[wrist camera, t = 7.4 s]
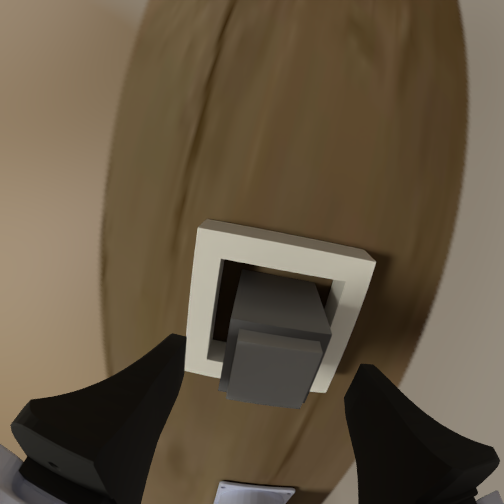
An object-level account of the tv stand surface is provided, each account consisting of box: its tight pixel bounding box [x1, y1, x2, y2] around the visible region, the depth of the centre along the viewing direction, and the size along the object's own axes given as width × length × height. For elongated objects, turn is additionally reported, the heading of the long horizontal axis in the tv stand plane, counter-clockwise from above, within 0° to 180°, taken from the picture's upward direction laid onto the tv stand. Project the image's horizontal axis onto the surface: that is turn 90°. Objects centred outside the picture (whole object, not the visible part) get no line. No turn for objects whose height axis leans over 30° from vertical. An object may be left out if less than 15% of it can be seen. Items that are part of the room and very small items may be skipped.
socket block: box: [184, 219, 376, 393], centre depth 15 cm, size 8×8×2 cm
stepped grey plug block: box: [218, 269, 332, 409], centre depth 14 cm, size 4×4×6 cm
